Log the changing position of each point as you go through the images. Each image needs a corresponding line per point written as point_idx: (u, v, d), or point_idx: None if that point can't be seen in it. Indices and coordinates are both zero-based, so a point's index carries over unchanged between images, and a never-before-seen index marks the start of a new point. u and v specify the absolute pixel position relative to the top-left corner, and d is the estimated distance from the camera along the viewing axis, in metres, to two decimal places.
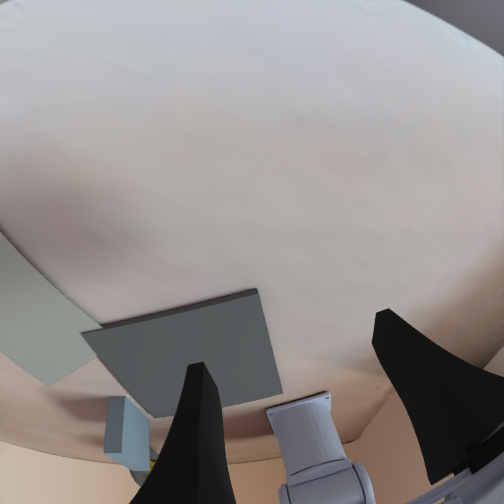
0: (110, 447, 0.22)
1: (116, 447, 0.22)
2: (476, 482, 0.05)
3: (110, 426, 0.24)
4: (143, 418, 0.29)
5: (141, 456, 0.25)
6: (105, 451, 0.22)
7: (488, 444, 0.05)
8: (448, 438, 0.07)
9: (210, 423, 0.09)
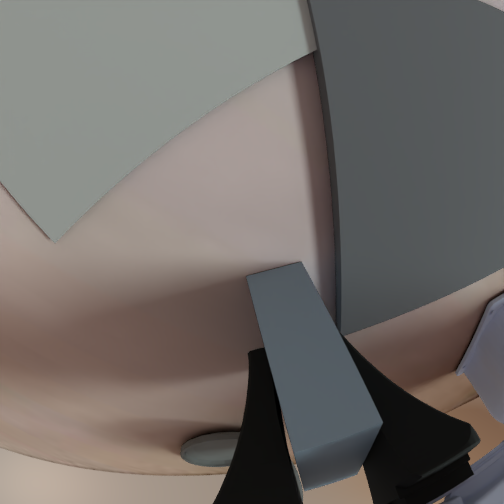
0: (321, 419, 0.06)
1: (350, 408, 0.06)
2: (476, 482, 0.05)
3: (288, 346, 0.08)
4: None
5: None
6: (302, 442, 0.06)
7: (425, 485, 0.05)
8: (382, 472, 0.06)
9: (278, 408, 0.09)
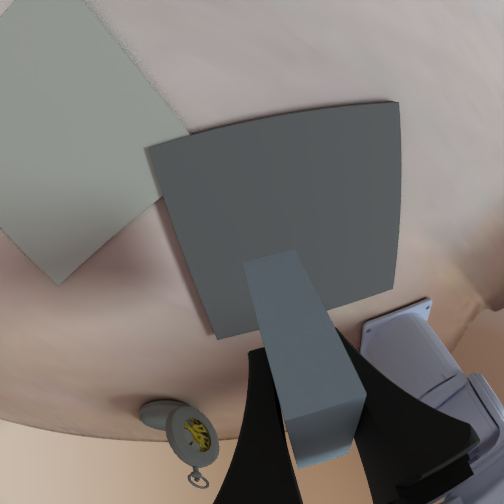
0: (310, 390, 0.07)
1: (336, 380, 0.07)
2: (476, 482, 0.05)
3: (280, 325, 0.09)
4: None
5: None
6: (292, 411, 0.07)
7: (425, 485, 0.05)
8: (382, 472, 0.06)
9: (278, 408, 0.09)
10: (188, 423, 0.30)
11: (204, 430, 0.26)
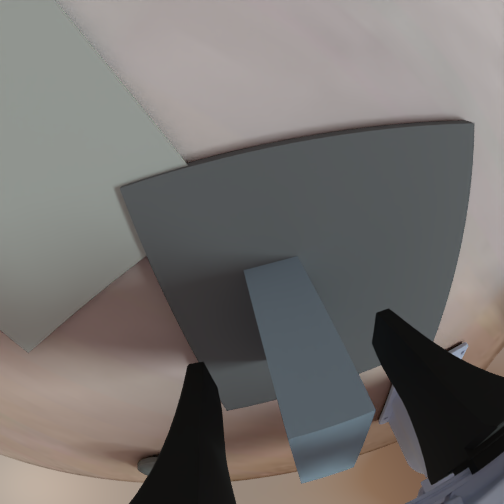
0: (315, 406, 0.07)
1: (343, 396, 0.07)
2: (476, 482, 0.05)
3: (283, 337, 0.09)
4: None
5: None
6: (296, 429, 0.06)
7: (488, 444, 0.05)
8: (448, 438, 0.07)
9: (210, 423, 0.09)
10: None
11: None
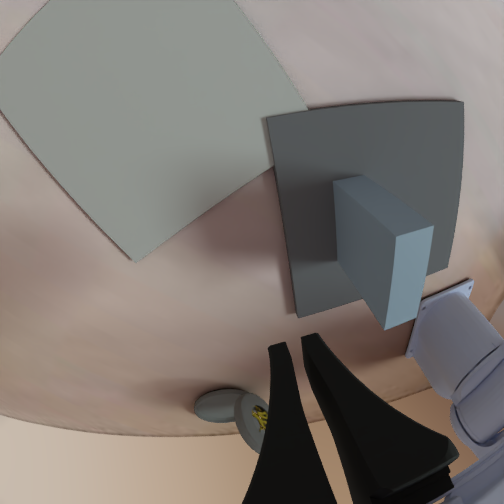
0: (403, 224, 0.12)
1: (415, 221, 0.12)
2: (476, 482, 0.05)
3: (372, 203, 0.14)
4: None
5: None
6: (398, 232, 0.12)
7: (401, 497, 0.05)
8: (359, 481, 0.06)
9: None
10: None
11: None
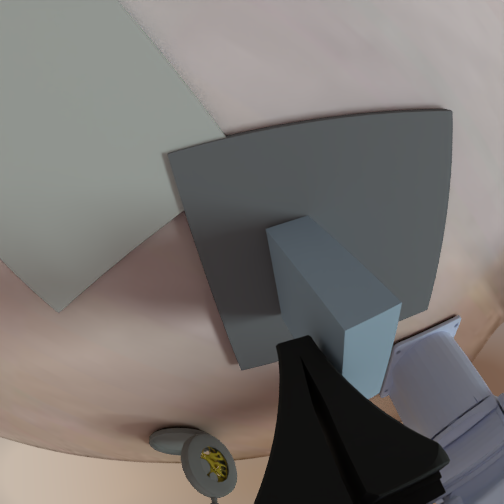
0: (357, 305, 0.09)
1: (375, 297, 0.09)
2: (476, 482, 0.05)
3: (316, 266, 0.11)
4: None
5: None
6: (348, 322, 0.09)
7: (390, 501, 0.05)
8: (349, 485, 0.06)
9: None
10: None
11: (221, 458, 0.23)
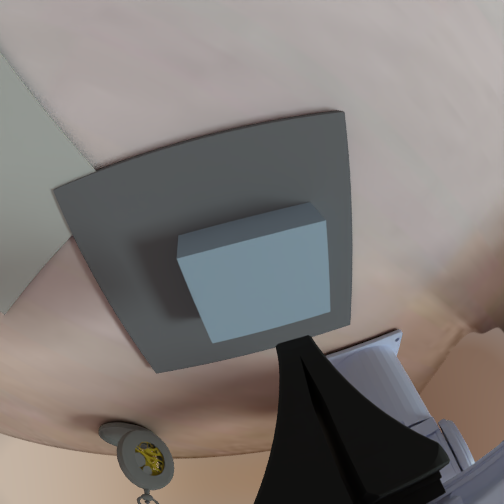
0: (306, 215, 0.14)
1: (301, 209, 0.15)
2: (476, 482, 0.05)
3: (255, 230, 0.14)
4: None
5: None
6: (319, 218, 0.14)
7: (391, 501, 0.05)
8: (349, 485, 0.06)
9: None
10: None
11: (158, 453, 0.24)
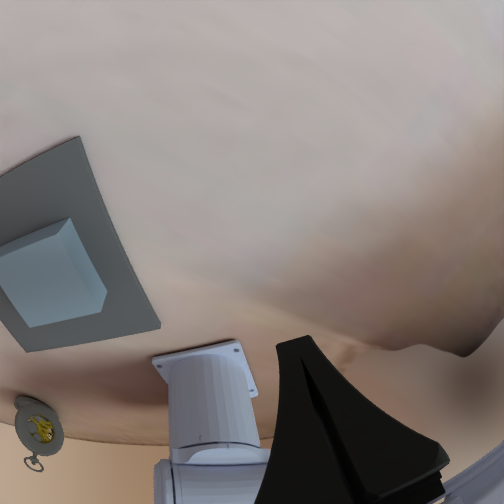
0: (53, 229, 0.15)
1: (57, 224, 0.16)
2: (476, 482, 0.05)
3: (24, 243, 0.15)
4: None
5: None
6: (55, 232, 0.15)
7: (391, 501, 0.05)
8: (349, 485, 0.06)
9: None
10: None
11: (51, 427, 0.25)
